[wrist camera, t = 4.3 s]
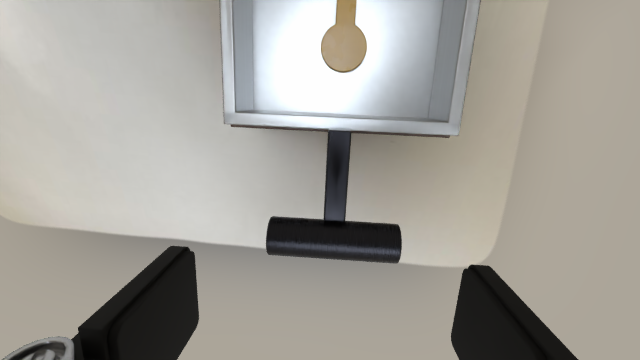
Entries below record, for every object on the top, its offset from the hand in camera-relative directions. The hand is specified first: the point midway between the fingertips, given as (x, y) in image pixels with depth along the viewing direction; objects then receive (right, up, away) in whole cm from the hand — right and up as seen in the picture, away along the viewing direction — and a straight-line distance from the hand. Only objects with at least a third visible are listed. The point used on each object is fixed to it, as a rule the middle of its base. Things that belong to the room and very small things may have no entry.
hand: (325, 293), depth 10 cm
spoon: (+1, +13, +5) cm, 14 cm away
